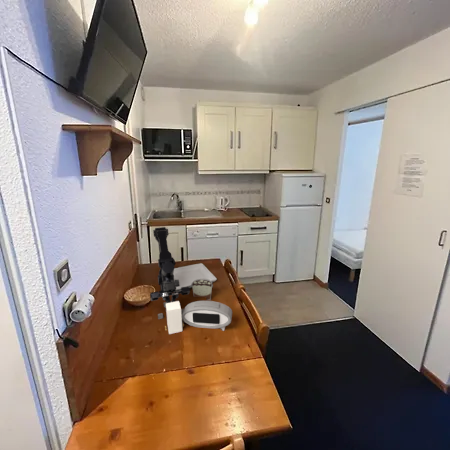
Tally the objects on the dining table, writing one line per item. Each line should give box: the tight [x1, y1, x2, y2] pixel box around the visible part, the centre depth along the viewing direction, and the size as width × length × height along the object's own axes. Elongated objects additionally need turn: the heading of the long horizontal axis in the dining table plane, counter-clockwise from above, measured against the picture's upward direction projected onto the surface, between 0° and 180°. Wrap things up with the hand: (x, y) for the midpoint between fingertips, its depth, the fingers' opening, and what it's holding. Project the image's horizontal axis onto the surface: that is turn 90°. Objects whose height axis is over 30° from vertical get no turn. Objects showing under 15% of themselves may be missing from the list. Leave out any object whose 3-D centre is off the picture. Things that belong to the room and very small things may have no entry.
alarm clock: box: [181, 300, 233, 332], centre depth 118 cm, size 23×6×13 cm, turn 83°
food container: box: [191, 279, 214, 301], centre depth 143 cm, size 12×6×10 cm, turn 84°
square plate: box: [173, 262, 218, 290], centre depth 164 cm, size 27×27×4 cm
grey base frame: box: [157, 300, 185, 331], centre depth 125 cm, size 26×13×3 cm, turn 19°
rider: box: [165, 300, 183, 335], centre depth 114 cm, size 6×6×13 cm
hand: (172, 311), depth 119 cm, fingers closed
